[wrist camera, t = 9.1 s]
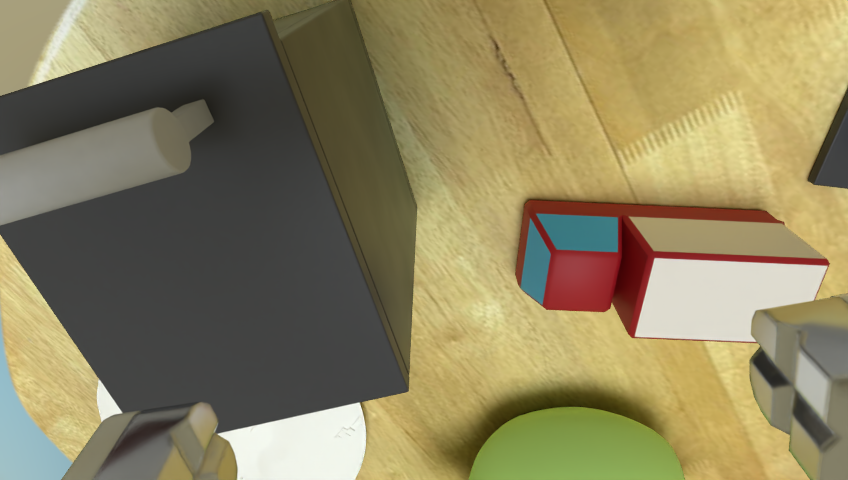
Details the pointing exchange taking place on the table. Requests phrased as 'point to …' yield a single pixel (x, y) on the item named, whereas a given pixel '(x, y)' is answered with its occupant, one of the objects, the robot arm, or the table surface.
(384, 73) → the table surface
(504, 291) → the table surface
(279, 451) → the plaque
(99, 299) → the storage box lid
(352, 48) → the lidded storage box
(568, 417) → the teapot
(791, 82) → the table surface
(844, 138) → the box
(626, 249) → the toy truck
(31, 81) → the table surface
